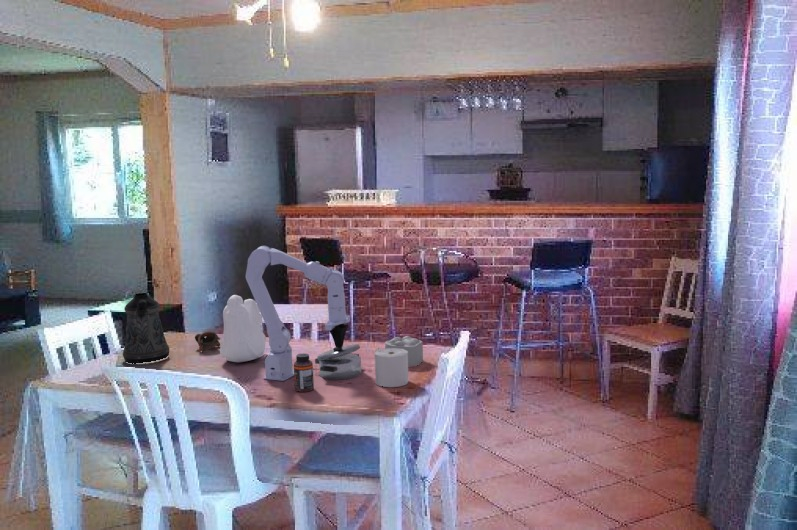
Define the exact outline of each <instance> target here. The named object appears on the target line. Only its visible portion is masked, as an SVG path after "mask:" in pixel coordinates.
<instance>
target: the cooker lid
mask: <svg viewBox="0 0 797 530" xmlns="http://www.w3.org/2000/svg"><path fill="white" fill-rule="evenodd" d="M360 349H361V346H360V344H358V343H355V344H348V345H343V347H336V346H334V347H333V348H332V349H330V350H328V351H324V352H322V353H321V354H318V355H317V356H316V358H318V360H327V359H332V358H336V357H340V356H343V355H346V354H349V353H352V354H353V353H354V352H356V351H358V350H360Z"/></svg>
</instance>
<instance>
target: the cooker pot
mask: <svg viewBox="0 0 797 530" xmlns="http://www.w3.org/2000/svg"><path fill="white" fill-rule="evenodd" d="M314 364H316V365H319V376H320V377H321V378H322V379H325V380H332V381H334V380H335V381H340V380H341V381H342V380H343V379H344V380H350V379H354V378H357V377H359V376H361V375H362V357H361V356H360V354H359V353H353V352H352V353H349V354H346V355H343V356H340V357H336V358H332V359H327V360H318V358H317V357H316V358H314ZM356 376H357V377H356ZM353 377H354V378H353Z"/></svg>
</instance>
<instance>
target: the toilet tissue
mask: <svg viewBox="0 0 797 530" xmlns="http://www.w3.org/2000/svg"><path fill="white" fill-rule="evenodd" d="M374 374H375V384H376V385H377V386H379V387H382V386H383V387H384V388H398V387H402V386H406V385H407V384H409V382H410V381H409V379H410V378H409V367H408V352H407V351H406V350H404V349H398V348H388V349H385V348H383V349H382V348H381V349H380V347H377V348H375V350H374Z"/></svg>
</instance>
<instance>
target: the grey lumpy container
mask: <svg viewBox="0 0 797 530" xmlns="http://www.w3.org/2000/svg"><path fill="white" fill-rule="evenodd" d="M384 345H385V346H384V347H385V348H384V349H388V348H398V349H404V350H406V351H407V352H408V366H415V367H418V366H419V365H420V364H422V363H423V362H424V347H423V345H424V344H423V341H422V340H420V339H418V338H413V337H411V336H410V335H406V336H403V337H399V336H395V337H393V338H392V339H388V340H386V341H385V342H384ZM421 362H422V363H421ZM419 363H420V364H419ZM417 365H418V366H417Z"/></svg>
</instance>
